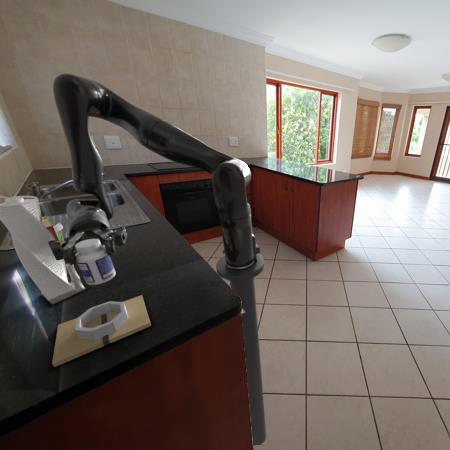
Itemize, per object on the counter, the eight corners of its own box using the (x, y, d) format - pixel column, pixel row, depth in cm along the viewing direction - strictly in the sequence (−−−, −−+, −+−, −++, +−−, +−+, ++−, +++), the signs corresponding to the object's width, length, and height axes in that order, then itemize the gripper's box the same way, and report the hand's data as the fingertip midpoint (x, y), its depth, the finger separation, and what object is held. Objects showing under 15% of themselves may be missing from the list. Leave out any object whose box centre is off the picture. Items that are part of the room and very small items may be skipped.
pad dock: (142, 298, 62) (139, 287, 61) (151, 325, 54) (147, 314, 52) (59, 328, 53) (53, 316, 51) (54, 367, 44) (46, 354, 43)
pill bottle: (116, 268, 56) (104, 235, 52) (116, 280, 52) (103, 244, 48) (86, 276, 53) (72, 241, 49) (84, 288, 49) (68, 251, 45)
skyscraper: (44, 308, 58) (-13, 199, 47) (32, 297, 62) (-24, 193, 51) (86, 289, 65) (44, 190, 54) (73, 280, 69) (31, 185, 58)
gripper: (44, 221, 54) (31, 250, 42) (121, 208, 62) (128, 230, 50) (57, 249, 57) (48, 284, 45) (128, 234, 65) (137, 260, 53)
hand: (90, 255), depth 48 cm, fingers closed on pill bottle, 5 cm apart
